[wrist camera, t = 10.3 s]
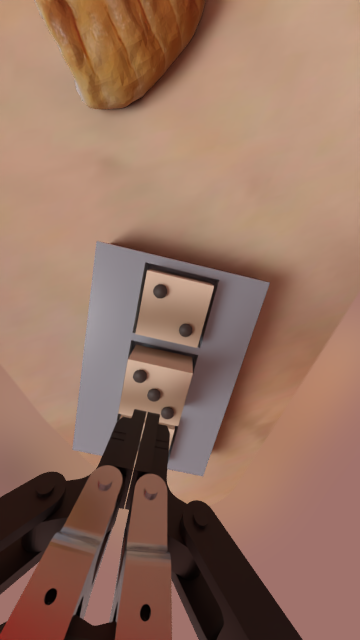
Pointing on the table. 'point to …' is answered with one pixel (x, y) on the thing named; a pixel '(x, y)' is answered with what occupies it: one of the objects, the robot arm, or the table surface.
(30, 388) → the table surface
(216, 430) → the panel
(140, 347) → the button
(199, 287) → the button
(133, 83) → the pastry
